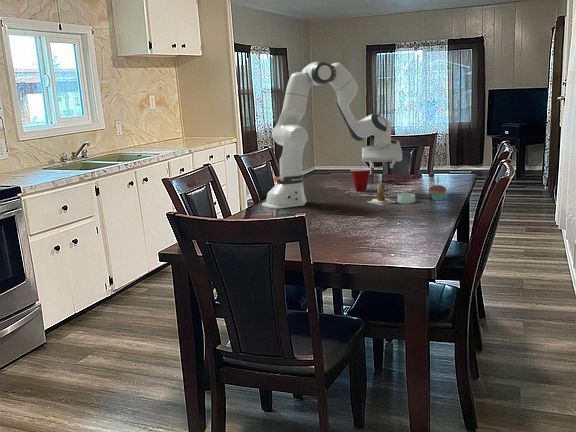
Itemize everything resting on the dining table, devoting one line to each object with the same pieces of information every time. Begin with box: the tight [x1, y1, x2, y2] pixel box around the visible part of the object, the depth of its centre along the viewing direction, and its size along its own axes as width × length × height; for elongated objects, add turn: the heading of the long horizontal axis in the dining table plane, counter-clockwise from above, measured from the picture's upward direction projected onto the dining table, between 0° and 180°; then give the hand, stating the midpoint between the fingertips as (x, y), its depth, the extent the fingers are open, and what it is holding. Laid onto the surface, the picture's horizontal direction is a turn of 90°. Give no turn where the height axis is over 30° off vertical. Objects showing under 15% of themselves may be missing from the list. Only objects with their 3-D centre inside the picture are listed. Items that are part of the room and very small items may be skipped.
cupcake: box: [428, 176, 448, 201], centre depth 277 cm, size 9×8×12 cm
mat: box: [367, 200, 396, 206], centre depth 277 cm, size 10×10×1 cm
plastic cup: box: [350, 168, 372, 192], centre depth 308 cm, size 11×11×12 cm
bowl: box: [397, 192, 416, 204], centre depth 275 cm, size 8×8×4 cm
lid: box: [371, 182, 392, 205], centre depth 276 cm, size 9×9×9 cm
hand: (381, 167), depth 285 cm, fingers open, 8 cm apart
